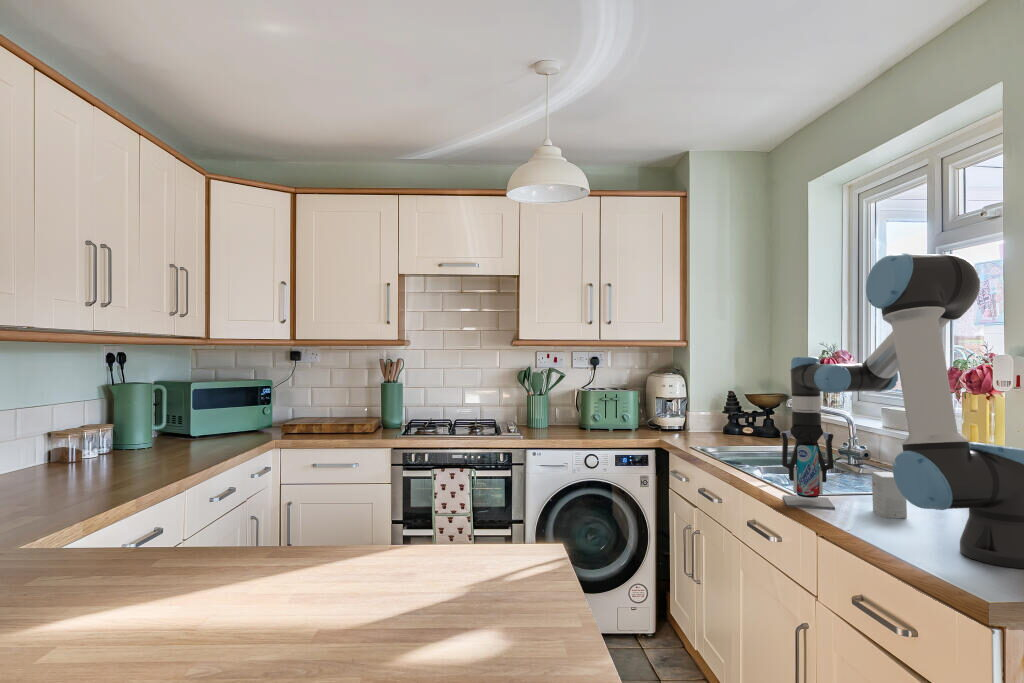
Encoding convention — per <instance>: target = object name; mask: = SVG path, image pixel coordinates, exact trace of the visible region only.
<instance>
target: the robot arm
mask: <svg viewBox="0 0 1024 683" xmlns="http://www.w3.org/2000/svg"><path fill="white" fill-rule="evenodd" d="M980 289H981V279H980V275H979V273H978V271H977V269H976V267H975V266H974V265H973V264H972V263H971V262H970V261H969V260H967V259H965V258H964V257H961V256H960V255H955V254H950V253H949V254H948V253H947V254H943V253H942V254H925V253H924V254H923V253H922V254H920V253H919V254H915V253H913V254H912V253H910V254H909V253H901V254H888V255H886V256H883V257H882V258H879V259H878V260H877V261H876V262H875V263H874V264H873V265H872V268H871V270H870V272H868V276H867V279H866V283H865V295H866V298H867V301H868V303H870V305H871V306H873V307H874V308H876V309H880V311H881V316H882V320H883V321H884V322H886V323H888V324H889V325H891V329H892V330H891V332H890V333H889V334H888V335H887V336H886V337H885V339H884V340H883V341H882V342H881V344H879V345H878V346H877V348H876V349H875V350H874V351H873V352H872V353H871V354H870V355H869V357H867V359H866V360H864V362H862V363H821V361H820V360H821V359H820V358H819V357H818V356H794V357H792V358H791V362H790V369H789V370H790V387H791V390H790V391H791V409H792V410H793V411H792V412H791V428H790V430H786V431H784V430H783V431H781V432H780V436H781V438H782V448H781V449H782V451H781V465H782V467H783V468H786V469H788V479H789V481H790V482H792V491H793V493H794V494H797V470H796V460H797V447H798V446H799V443H800V444H817V445H816V446H817V447H818V460H819V496H820V495H823V493H824V492H823V491H824V490H823V483H826V482H827V471H828V470H833V469H834V466H835V465H834V457H833V456H834V455H833V454H834V453H833V444H832V443H833V440H834V434H833V433H832V432H826V431H824V430H823V427H822V414H821V412H820V411H821V409H822V406H821V405H822V402H821V401H822V400H821V395H822V394H821V392H823V393H827V394H839V393H849V392H877V393H879V392H880V393H881V392H885V391H886V392H887V391H891V390H893V389H895V388H896V386H897V382H898V381H899V379H900V386H901V387H900V388H901V392H902V398H903V404H904V411H905V418H906V424H907V429H908V430H907V431H908V435H907V436H908V437H907V438H906V439H905V440H903V442H902V443H901V445H902V452H900V453H899V454H897V455H896V457H894V460H893V461H894V463H893V464H892V472H893V476H894V480H895V483H896V485H897V487H898V489H899V491H900V492H901V494H902V495H903V496H904V497H906V501H907V502H908V503H910V504H911V505H912V506H913V505H914V507H917V508H920V509H924V510H936V511H938V510H939V511H946V510H949V509H950V510H953V509H957V510H958V509H968V518H967V520H966V523H965V525H964V528H963V531H962V533H961V535H960V537H959V538H960V539H959V552H960V553H961V554H962V555H964V556H966V557H968V558H970V559H971V560H975V561H978V562H981V563H982V562H983V563H985V564H990V565H994V566H1000V567H1005V568H1006V567H1007V568H1015V569H1024V448H1019V447H1014V446H1007V445H999V444H992V443H985V442H975V441H970V442H969V440H968V439H967V438H966V437H964V436H963V435H962V434H960V433H959V432H958V431H959V430H958V426H957V425H958V424H957V422H956V421H957V420H956V415H955V409H954V402H953V396H952V392H951V386H950V380H949V374H948V367H947V362H946V361H947V360H946V355H945V352H944V350H945V349H944V345H943V338H942V333H941V330H942V329H943V328H944V327H945V326H946V325H948V324H949V322H950V321H956V320H959V319H960V318H961V317H962V316H963V315H965V314H966V312H967V311H968V310H969V309H970V308H971V307H972V306H973V304H974V303H975V302H976V300H977V298H978V296H979V293H980ZM898 373H899V374H898ZM791 435H792V437H793V438H794V439H795V443H794V447H793V451H792V454H791V457H790V461H789V463H788V452H789V439H790V437H791ZM822 436H823V439H824V440H825V452H826V461H827V463H825V460H824V457H823V455H822V451H821V449H820V445H818V444H819V443H818V441H819V440H820V439H821V437H822ZM796 442H797V444H796Z"/></svg>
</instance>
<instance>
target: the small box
mask: <svg viewBox="0 0 1024 683" xmlns="http://www.w3.org/2000/svg"><path fill="white" fill-rule="evenodd" d="M871 483H872V484H871V485H872V486H871V489H872V491H871V492H872V511H874V512H875V513H876V514H878V515H879V514H880V516H881V517H882V516H883V517H882V518H884V517H885V518H886V517H888V518H890V519H891V518H892V519H893V518H894V519H907V518H908V508H907V507H908V506H907V505H908V504H907V499H906V497H904V496H903V495H902V494H901V492H900V491H899V489H898V487H897V485H896V483H895V480H894V476H893V471H892V472H891V471H871Z"/></svg>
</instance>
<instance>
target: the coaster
mask: <svg viewBox="0 0 1024 683" xmlns="http://www.w3.org/2000/svg"><path fill="white" fill-rule="evenodd" d="M782 498H783V500H784V503H785V505H786V508H804V509H819V510H821V509H822V510H836V507H835V505H834V504H833V503H832V502H831V500H830V499H829V498H828V497H826V496H825V497H821V496H818V497H815V498H808V497H801V496H798V495H788V494H786V495H785V494H782Z"/></svg>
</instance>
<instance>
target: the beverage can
mask: <svg viewBox="0 0 1024 683" xmlns="http://www.w3.org/2000/svg"><path fill="white" fill-rule="evenodd" d="M795 443H796V444H797V442H796V441H795ZM816 445H817V444H800V443H799V446H798V447H797V460H796V463H795V469H796V470H797V493H796V494H797V495H796V496H801V497H808V498H815V497H820V494H819V470H820V465H819V460H818V447H817V446H816ZM818 445H819V443H818ZM819 446H820V445H819Z"/></svg>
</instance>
